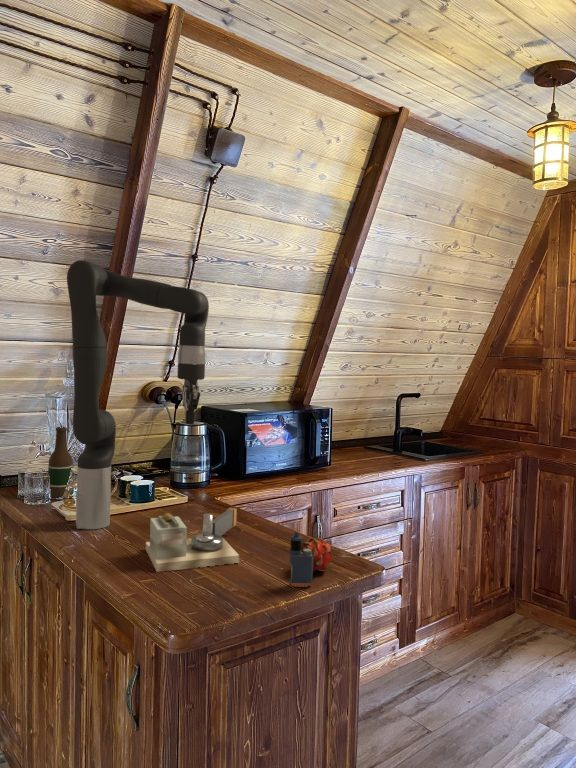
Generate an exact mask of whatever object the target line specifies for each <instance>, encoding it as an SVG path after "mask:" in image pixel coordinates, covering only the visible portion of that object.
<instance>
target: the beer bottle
mask: <svg viewBox="0 0 576 768" xmlns="http://www.w3.org/2000/svg"><path fill="white" fill-rule="evenodd" d="M60 427H61V426H57V427H55V432H56V433H55V443H54V450H53V452H52V453H51V455H50V456H49V459H48V465H47V466H48V468H47V469H48V471H47V475H48V474H49V476H50V489H51V496H52V498H59V497H62V496H63V494H64V492H65V488H66V485H67V482H68V479H69V476H70V470H71V468H73V469H74V462H73V458H72V455H71V453H70V452H69V451H68V450H69V449H68V440H67V439H68V437H67V432H68V427H66V426H62V427H63V428H60Z"/></svg>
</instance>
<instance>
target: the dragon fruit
mask: <svg viewBox="0 0 576 768" xmlns="http://www.w3.org/2000/svg"><path fill="white" fill-rule="evenodd" d="M303 549H311V550H312V556H313V570H315V571H317V570H327V566H328V565H329V564H330V563H331V562H332V561H333V556H334V555H333V553H332V550H331V546H330V544H329V543H328V541H324V539H323V538H321V537H316V538H315V539H314V538H309V539H307V540H306V541H304V542H301V552H303Z"/></svg>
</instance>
